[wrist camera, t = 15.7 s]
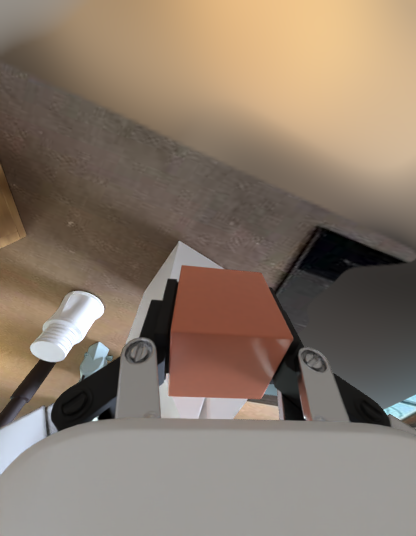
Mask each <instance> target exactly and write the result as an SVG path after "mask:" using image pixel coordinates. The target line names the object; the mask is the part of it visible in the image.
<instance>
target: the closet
mask: <svg viewBox="0 0 416 536" xmlns="http://www.w3.org/2000/svg"><path fill="white" fill-rule="evenodd" d="M25 236H27V235H26V233H25V230H24V227H23V224H22V222H21V219H20V216H19V213H18V211H17V208H16V205H15V202H14V200H13V197H12V194H11V191H10V189H9V186H8V183H7V180H6V177H5V175H4V172H3V169H2V166H1V164H0V248H2V247H4V246H6V245H8V244H11V243H13V242H15V241H17V240H19V239H21V238H23V237H25Z"/></svg>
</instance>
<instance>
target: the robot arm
mask: <svg viewBox="0 0 416 536" xmlns="http://www.w3.org/2000/svg"><path fill="white" fill-rule="evenodd" d="M178 283H179V282H177V279H169V278H168V280H167V283H166V287H165V291H164V295H163V299H162V300H153V299H152V300H151V302H150V305H149V308H148V312H147V315H146V318H145V321H144V324H143V327H142V330H141V333H140V336H139V338H135V339H133V340H131V341H129V342H128V343H127V344H126V345H125V346H124V347H123V349H122V352H121V356H120V357H119V358H117V359H116V360H114V361H112V362H111V363H109V364H108V365H106V366H104V367H103V368H101V369H100V370H98V371H96V372H95V373H93V374H91V375H90V376H88V377H87V378H85V379H83V380H82V381H80V382H79V383H77V384H75V385H74V386H72V387H70V388H69V389H68V390H66V391H65V392H64V393H62V394H61V395H60V397H59V398H58V399H57V400H56V402H55V403H53V404H51V405H49V406H47V407H45V406H42V407H40V408H38V409H36V410H34V411H32V412H30V413H28V414H26V415H24V416H22V417H20V418H18V419H16V420H14V421H13V422H11V423H9V424H7V425H5V426H3V427H1V428H0V536H416V429H414V428H413V427H411V426H409V425H408V424H406V423H404V422H402V421H401V420H399V419H397V418H396V417H394V416H392V415H390V414H389V415H388V416H387V415H386V413H385V412H384V410H383V409H382V408H381V407H380V406H379V405H378V404H377V403H376V402H375V401H374V400H372V399H371V398H369V397H368V396H367V395H365V394H364V393H362V392H361V391H359V390H357V389H356V388H355V387H353V386H352V385H350V384H349V383H347V382H346V381H344V380H342V379H341V378H340V377H339V376H337V375H336V374H334V373H333V372H332V369H331V367H330V364H329V362H328V360H327V359H326V358H325V356H324V355H322V354H321V353H320V352H318V351H317V350H315V349H313V348H310V347H304V346H303V344H302V342H301V340H300V338H299V336H298V334H297V333H296V331H295V329H294V327H293V325H292V323H291V321H290V319H289V317H288V315H287V313H286V312H285V311H284V310H283V308H282V306H281V304H280V302H279V300H278V299H277V297H276V295H275V293H274V291H273V289H272V288H271V287H269V289H270V291H271V293H272V295H273V298H274V300H275V302H276V304H277V306H278V308H279V310H280V312H281V314H282V316H283V318H284V320H285V322H286V324H287V326H288V328H289V330H290V332H291V334H292V336H293V341H292V343H291V344H290V346H289V348H288V350H287V352H286V354H285V356H284V357H283V359H282V361H281V363H280V365H279V367H278V368H277V370H276V372H275V374H274V376H273V378H272V380H271V381H270V383H269V384H274V386H275V387H276V388H277V396H278V408H279V419H280V420H244V419H187V418H161V409H160V395H159V386H161V385H162V384H163V383H164V380H166V373H169V355H170V333H171V325H172V319H173V313H174V307H175V301H176V295H177V289H178Z"/></svg>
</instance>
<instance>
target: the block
mask: <svg viewBox="0 0 416 536" xmlns="http://www.w3.org/2000/svg"><path fill="white" fill-rule="evenodd" d="M292 341H293V336H292V334H291V332H290V330H289V328H288V326H287V324H286V322H285V320H284V318H283V316H282V314H281V312H280V310H279V308H278V306H277V304H276V302H275V300H274V298H273V295H272V293H271V291H270V289H269V287H268V285H267V283H266V281H265V279H264V277H263V275H262V273H259V272H249V271H238V270H228V269H217V268H207V267H196V266H186V265H182V266H181V271H180V277H179V283H178V289H177V295H176V301H175V307H174V313H173V319H172V325H171V333H170V355H169V377H168V396H173V397H205V398H237V399H261V398H262V396H263V394H264V392H265V390H266V389H267V387H268V385H269V383H270V381H271V380H272V378H273V376H274V374H275V372H276V370H277V368H278V367H279V365H280V363H281V361H282V359H283V357H284V356H285V354H286V352H287V350H288V348H289V346H290V344H291V343H292Z"/></svg>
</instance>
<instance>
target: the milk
mask: <svg viewBox="0 0 416 536" xmlns="http://www.w3.org/2000/svg"><path fill="white" fill-rule="evenodd" d="M182 265H186V266H196V267H207V268H217V269H224V268H222V267H221V266H219V265H218V264H216V263H214V262H213V261H211V260H210V259H208V258H206V257H205V256H203V255H202V254H200V253H198V252H197V251H195V250H194V249H192V248H190V247H189V246H187V245H186V244H184V243H182V242H181V241H179V242H178V243H177V245H176V246H175V248H174V249H173V251H172V252H171V254H170V255H169V256H168V258H167V259H166V261H165V262H164V264H163V265H162V267H161V268H160V270H159V271H158V273H157V274H156V275H155V277H154V278H153V280H152V281H151V283H150V284H149V286H148V287H147V289H146V290H145V292H144V294H143V297H142V300H141V303H140V305H139V308H138V311H137V314H136V317H135V319H134V322H133V325H132V328H131V330H130V333H129V336H128V339H127V341H126V344H127V343H128V342H129V341H131V340H133V339H135V338H139V336H140V333H141V330H142V327H143V324H144V321H145V318H146V315H147V312H148V308H149V305H150V302H151V300H152V299H153V300H162V299H163V295H164V291H165V287H166V283H167V280H168V278H169V279H177V282H179V277H180V271H181V266H182ZM126 344H125V345H126ZM168 377H169V373H166V380H164V383H163V384H162V385H161V386H159V395H160V409H161V418H187V419H233V418H234V417H235V415H236V414H237V413H238V412H239V410H240V409H241V408H242V406H243V405H244V404H245V402H246V401H247V399H237V398H205V397H173V396H168Z"/></svg>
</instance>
